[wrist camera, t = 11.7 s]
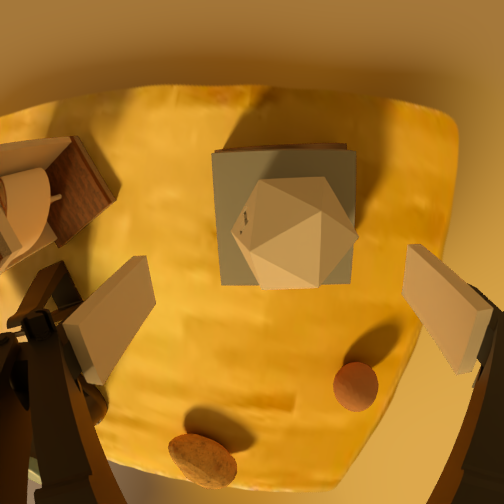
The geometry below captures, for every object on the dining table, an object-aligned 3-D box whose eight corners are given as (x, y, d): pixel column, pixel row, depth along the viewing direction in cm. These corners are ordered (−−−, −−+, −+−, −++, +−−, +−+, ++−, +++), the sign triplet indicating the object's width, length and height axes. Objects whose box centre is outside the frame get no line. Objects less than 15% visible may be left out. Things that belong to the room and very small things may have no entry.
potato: (199, 460, 56) (191, 495, 47) (169, 421, 51) (156, 460, 42) (244, 459, 54) (239, 496, 45) (218, 419, 49) (209, 461, 40)
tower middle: (229, 264, 34) (221, 285, 29) (221, 151, 30) (211, 153, 25) (340, 263, 33) (350, 283, 28) (343, 149, 29) (356, 151, 24)
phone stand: (88, 311, 44) (47, 355, 32) (64, 317, 45) (24, 358, 33) (63, 260, 41) (13, 295, 30) (40, 269, 42) (-7, 303, 31)
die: (314, 151, 25) (232, 156, 18) (390, 222, 22) (336, 259, 16) (270, 220, 30) (191, 246, 23) (332, 286, 28) (264, 336, 21)
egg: (337, 350, 42) (346, 390, 34) (377, 353, 42) (391, 391, 34) (325, 381, 44) (331, 421, 37) (363, 384, 44) (373, 422, 36)
